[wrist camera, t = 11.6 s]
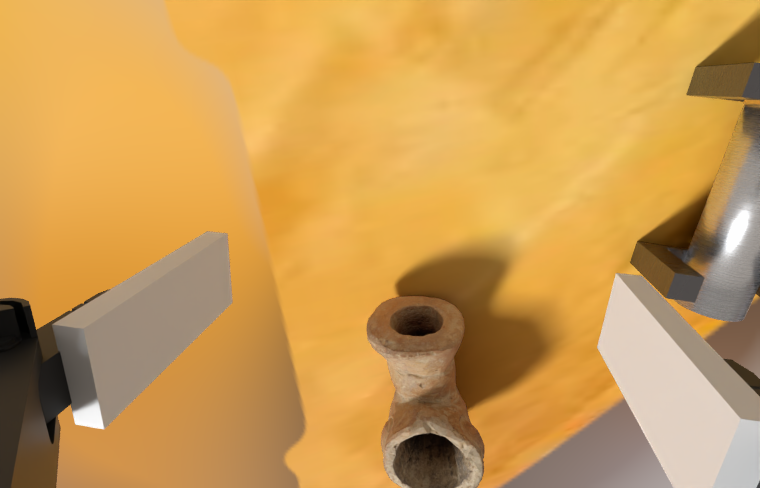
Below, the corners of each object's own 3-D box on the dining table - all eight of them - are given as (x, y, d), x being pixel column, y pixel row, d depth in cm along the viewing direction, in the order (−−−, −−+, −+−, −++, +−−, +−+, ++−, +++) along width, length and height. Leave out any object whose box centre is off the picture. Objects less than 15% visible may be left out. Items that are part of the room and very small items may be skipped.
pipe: (463, 285, 42) (466, 341, 33) (484, 424, 47) (492, 508, 38) (371, 296, 44) (349, 352, 35) (400, 428, 49) (388, 509, 40)
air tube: (741, 64, 32) (792, 61, 28) (818, 73, 32) (884, 71, 27) (659, 286, 39) (688, 315, 34) (722, 296, 38) (761, 327, 33)
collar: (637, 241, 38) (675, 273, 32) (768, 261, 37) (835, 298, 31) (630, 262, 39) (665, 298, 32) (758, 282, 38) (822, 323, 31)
